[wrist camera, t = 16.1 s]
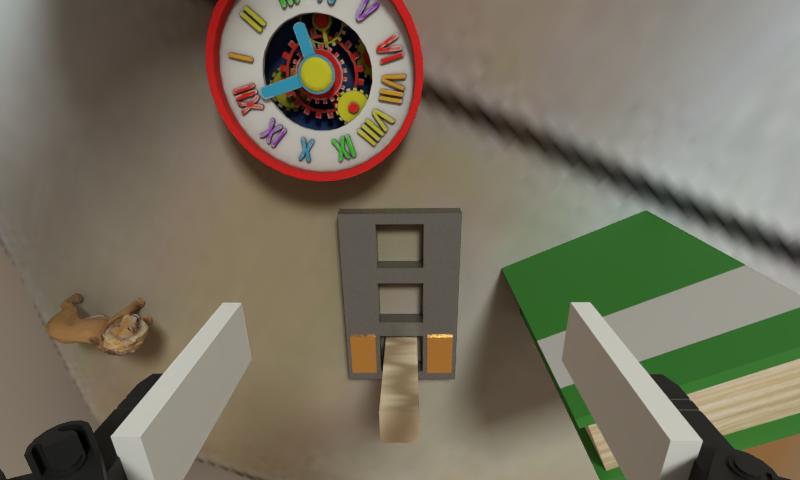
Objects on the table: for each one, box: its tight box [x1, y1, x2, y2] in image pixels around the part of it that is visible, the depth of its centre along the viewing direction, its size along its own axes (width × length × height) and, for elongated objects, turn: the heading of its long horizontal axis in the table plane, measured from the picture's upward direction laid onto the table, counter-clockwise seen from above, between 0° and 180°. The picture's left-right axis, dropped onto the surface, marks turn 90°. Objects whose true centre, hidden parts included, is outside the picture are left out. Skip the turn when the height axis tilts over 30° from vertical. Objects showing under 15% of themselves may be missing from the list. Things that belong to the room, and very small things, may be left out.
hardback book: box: [502, 211, 800, 480], centre depth 39 cm, size 18×7×24 cm, turn 115°
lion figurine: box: [46, 294, 153, 356], centre depth 49 cm, size 15×5×9 cm, turn 94°
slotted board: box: [337, 208, 462, 379], centre depth 51 cm, size 14×23×2 cm, turn 1°
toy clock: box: [206, 0, 423, 181], centre depth 40 cm, size 20×6×20 cm
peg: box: [379, 336, 419, 442], centre depth 48 cm, size 4×4×14 cm
